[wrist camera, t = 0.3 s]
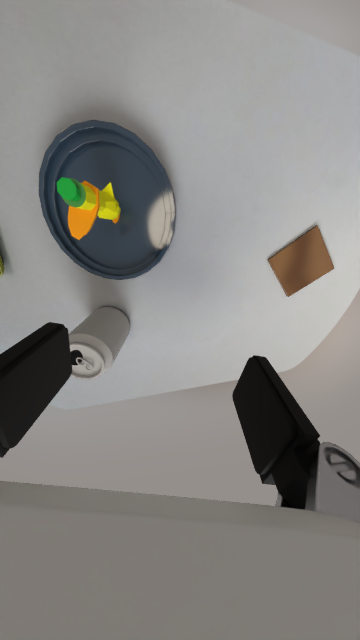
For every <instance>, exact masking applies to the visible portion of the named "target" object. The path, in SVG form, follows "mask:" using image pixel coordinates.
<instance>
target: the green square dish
mask: <svg viewBox="0 0 360 640" xmlns="http://www.w3.org/2000/svg"><path fill="white" fill-rule="evenodd" d="M3 273H4V264H3V261H2V259H1V256H0V276H2V275H3Z"/></svg>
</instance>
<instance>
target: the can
mask: <svg viewBox="0 0 360 640" xmlns="http://www.w3.org/2000/svg"><path fill="white" fill-rule="evenodd" d="M129 331H130V323H129V321H128V318H127V317H126V316H125V315H124V314H123V313H122V312H121V311H119V310H118V309H115V308H112V307H103V308H99V309H97V310H96V311H94V312H93V313H92V314H91V315H90V316H89V317H88V318H86V319H85V320H84V321H83V322H82V323H81V324H80V325H79V326H77V327H76V328H75V329H74V330H73V331H72V332H71V333H70V334H68V335H69V344H70V353H71V361H72V374H71V376H72V377H74V378H78V379H81V380H91V379H95V378H97V377H99V376H100V375H101V374H103V373H105V372H107V371H108V370H109V369H110V368H111V366H112V364H113V362H114V360H115V359H116V357H117V355H118V353H119V351H120V349H121V347H122V345H123V343H124V342H125V340H126V338H127V336H128V334H129Z"/></svg>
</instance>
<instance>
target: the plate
mask: <svg viewBox="0 0 360 640" xmlns="http://www.w3.org/2000/svg"><path fill="white" fill-rule="evenodd" d="M62 177H64V178H72V179H75V180H77V181H78V182H80V183H82V182H83V181H87V182H88V183H90V184H92V185H93V186H95V187H96V188H98V189H99V191H102V190H103V189H104V188H105V187H106V186H107V185H108V184H109V183H110V182H111V186H112V190H113V195H114V197H115V199H116V200H117V201H118V203H119V207H120V208H121V211H120V218H119V220H118V222H117V223H113V222H112V220H109V219H103V218H99V217H98V215H97V217H96V219H95V221H94V224H93V226H92V228H91V230H90V231H89V232H88V233H87V235H84V236H83V237H82V238H81V239H80V240H78V239H76V238H75V237H73V236H72V235H71V232H70V229H69V226H68V211H69V205H68V204H67V203H66V202H65V201H64V200H63V198H62V196H61V195H60V194H59V193H58V191H57V182H58V181H59V180H60V179H61V178H62ZM39 197H40V202H41V207H42V212H43V216H44V218H45V220H46V223H47V225H48V227H49V230H50V232H51V234H52V236H53V237H54V239H55V240H56V241H57V243H58V244H59V246H60V247H61V249H62V250H63V251H64V252H65V253H66V254H67V255H68V256H69V257H70V258H71V259H72V260H73V261H74V262H75V263H76V264H78V265H79V266H81V267H82V268H84V269H85V270H87V271H89V272H90V273H93V274H95V275H98V276H101V277H103V278H108V279H116V280H123V279H130V278H135V277H138V276H140V275H142V274H144V273H146V272H148V271H149V270H151V269H152V268H153V267H154V266H155V265H156V264H157V263H159V262H160V260H161V259H162V257H163V256H164V254H165V253H166V251H167V250H168V248H169V246H170V243H171V240H172V237H173V234H174V228H175V217H176V211H175V204H174V196H173V191H172V188H171V185H170V182H169V180H168V177H167V174H166V172H165V169H164V168H163V166H162V165H161V163H160V162H159V160H158V158H157V157H156V155H155V154H154V152H153V151H152V150H151V149H150V148H149V147H148V146H147V145H146V144H145V143H144V142H143V141H142V140H141V139H140V138H139V137H138V136H137V135H136V134H134V133H132V132H130V131H129V130H127V129H125V128H123V127H121V126H119V125H117V124H114V123H110V122H104V121H97V120H90V121H86V122H81V123H77V124H74V125H71V126H70V127H69V128H67V129H66V130H64V131H63V132H61V133H60V134H58V135H57V136H56V138H55V139H54V141H53V142H52V143H51V145H50V146H49V148H48V149H47V151H46V153H45V155H44V159H43V162H42V166H41V169H40V173H39Z"/></svg>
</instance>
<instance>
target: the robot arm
mask: <svg viewBox="0 0 360 640" xmlns="http://www.w3.org/2000/svg"><path fill="white" fill-rule="evenodd" d="M71 374H72V361H71V353H70V344H69V335H68V329H67V328H65V326H64V325H63V324H58V323H52V322H49V323H47V324H45V325H44V326H42V327H41V328H39V329H38V330H36V331H35V332H33V333H32V334H30V335H29V336H27V337H26V338H24V339H23V340H21V341H20V342H18V343H17V344H15V345H14V346H12V347H11V348H9V349H8V350H6V351H5V352H3V353H2V354H0V457H3V456H4V455H5V454H6V453H7V451H8V450H9V449H10V448H13V447H14V446H16V445H17V444H18V443H19V441H20V440H21V439H22V437H23V436H24V435H25V434H26V432H27V431H28V430H29V429H30V427H31V426H32V425H33V423H34V422H35V421H36V420H37V418H38V417H39V416H40V414H41V413H42V412H43V411H44V409H45V408H46V407H47V406H48V404H49V403H50V402H51V400H52V399H53V398H54V397H55V395H56V394H57V393H58V391H59V390H60V389H61V388H62V386H63V385H64V384H65V382H66V381H67V380H68V379H69V377H70V376H71ZM233 401H234V405H235V408H236V411H237V414H238V417H239V420H240V423H241V427H242V430H243V433H244V436H245V439H246V443H247V445H248V449H249V452H250V455H251V459H252V462H253V465H254V468H255V471H256V472H257V473H258V474H259V475H260V478H261V480H262V484H271V485H276V487H277V490H278V497H277V501H276V505H275V506H268V505H258V504H249V503H239V502H229V501H218V500H207V499H198V498H187V497H177V496H166V495H155V494H142V493H133V492H121V491H111V490H100V489H88V488H77V487H65V486H53V485H42V484H30V483H17V482H6V481H0V640H360V463H359V462H358V461H357V460H356V459H355V458H354V457H353V456H352V455H351V454H349V453H348V452H347V451H345V450H344V449H343V448H341V447H339V446H337V445H335V444H332V443H329V442H323V443H322V444H320V442H319V441H318V438H319V436H320V435H319V433H318V432H317V431H316V429H315V428H314V426H313V425H312V423H311V422H310V420H309V419H308V418H307V416H306V415H305V413H304V412H303V410H302V409H301V408H300V406H299V405H298V403H297V402H296V400H295V399H294V397H293V396H292V395H291V393H290V392H289V390H288V389H287V387H286V386H285V384H284V383H283V381H282V380H281V378H280V377H279V376H278V374H277V373H276V371H275V370H274V368H273V367H272V365H271V364H270V363H269V361H268V360H267V358H266V357H261V356H253V357H252V358H249V359H248V361H247V363H246V366H245V368H244V370H243V372H242V374H241V376H240V379H239V381H238V383H237V385H236V387H235V389H234V392H233Z"/></svg>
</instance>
